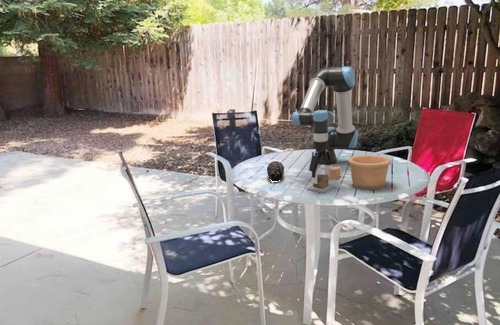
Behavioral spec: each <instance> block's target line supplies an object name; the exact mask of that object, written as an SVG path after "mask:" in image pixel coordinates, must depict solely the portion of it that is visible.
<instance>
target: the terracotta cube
mask: <svg viewBox="0 0 500 325" xmlns="http://www.w3.org/2000/svg"><path fill="white" fill-rule="evenodd" d="M341 169H342V168H341V167H338V166H333V165H330V177H329V180H333V181H337V180H339V179H341V176H342V174H341V173H342V172H341V171H342V170H341Z"/></svg>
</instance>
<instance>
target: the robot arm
mask: <svg viewBox="0 0 500 325" xmlns="http://www.w3.org/2000/svg"><path fill="white" fill-rule="evenodd" d="M355 85H356V75H355V70H354V68H353V67H351V66H326V67H323V68H321V69H319V70H318V71H316V72H315V73H314V74H313V75H312V77H311V78H310V79H309V82H308V86H309V87H308V89H307V92H306V94H305V97H304V99H303V101H302V103H301V106H300V109H299V110H298V111H294V112H293V113H292V115H291V122H292V125H294V126H298V127H299V126H300V127H301V126H302V127H304V126H305V127H309V126H310V127H311V126H313V127H312V128H313V131H312V134H313V135H312V136H313V137H312V140H313V149H315V151H312V152H311V153H312V154H311V160H310V164H309V170H308V171H309V172H311V183H312V184H313V183H315V184H317V174H318V171H317V169H318V167H319V166H320V165H322V166H324V175H329V177H330V167H331V166H333V165H336V164H337V163H338V158H337V155H336V152H335V148H339V149H354V148H356V146H357V143H358V138H359V130H357V129H356V127H355V125H353V117H352V115H353V114H352V113H353V112H352V98H351V91H352V90H353V89H354V88H353V87H355ZM325 88H332V91H333V92H334V93H335V100H336V109H337V110H336V112H337V113H336V114H337V122H338V124H337V125H338V126H337V127H336V128H335V127H334V126H332V124H333V123H334V121H335V115H334V113H333V112H332V111H328V110H325V109H321V110H320V109H318V110H315V108H316V105H317V103H318V100H319V98H320V96H321V93H322V91H324V89H325ZM330 125H331V126H330Z"/></svg>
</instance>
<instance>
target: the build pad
mask: <svg viewBox="0 0 500 325" xmlns="http://www.w3.org/2000/svg"><path fill="white" fill-rule="evenodd" d="M335 188H336V185H333V184H332V185H331V184H329V186H328V187H326V188H324V189H319V188H313V184H312V185H310V186H308V187H306V191H311V192H315V193H316V192H317V193H321V194H326V193H328V192H330V191H332V190H334V189H335Z"/></svg>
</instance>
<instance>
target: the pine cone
mask: <svg viewBox="0 0 500 325" xmlns="http://www.w3.org/2000/svg"><path fill="white" fill-rule="evenodd" d="M266 171H267V172H266V173H267V176H268V179H269V178H270V179H271V180H272V181H279V180H281V179H282V180H283V177H284V173H285V167H284V165H283V163H282V162H280V161H278V160H276V161H275V160H272V161H271V162H269V163H268V165H267V168H266ZM282 180H281V181H282Z"/></svg>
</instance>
